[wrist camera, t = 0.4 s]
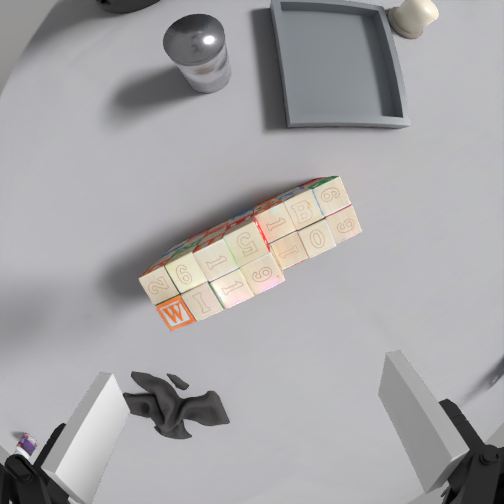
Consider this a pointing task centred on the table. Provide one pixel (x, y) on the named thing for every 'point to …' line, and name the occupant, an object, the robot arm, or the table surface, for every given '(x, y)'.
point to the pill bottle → (26, 446)
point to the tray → (338, 65)
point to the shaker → (199, 51)
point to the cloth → (174, 406)
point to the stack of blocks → (249, 252)
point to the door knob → (412, 17)
